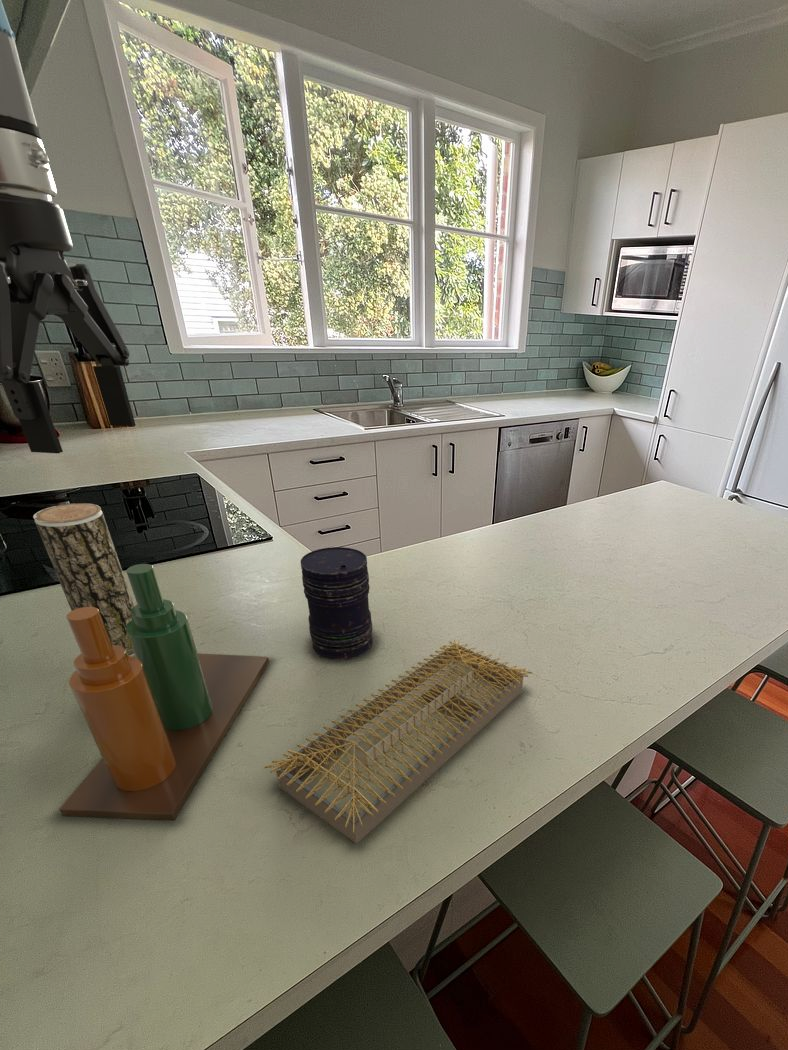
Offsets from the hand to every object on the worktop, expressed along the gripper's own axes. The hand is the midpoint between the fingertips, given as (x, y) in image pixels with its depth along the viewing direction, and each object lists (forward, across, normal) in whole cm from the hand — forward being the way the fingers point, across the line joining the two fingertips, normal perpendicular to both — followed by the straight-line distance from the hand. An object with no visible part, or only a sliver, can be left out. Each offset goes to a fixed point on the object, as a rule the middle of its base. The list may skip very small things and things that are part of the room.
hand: (88, 437), depth 61 cm
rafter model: (+34, -10, -37) cm, 51 cm away
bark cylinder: (+34, -1, +5) cm, 34 cm away
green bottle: (+34, -9, -7) cm, 36 cm away
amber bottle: (+34, -19, -7) cm, 39 cm away
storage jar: (+34, +11, -23) cm, 43 cm away
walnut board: (+34, -10, -7) cm, 36 cm away
